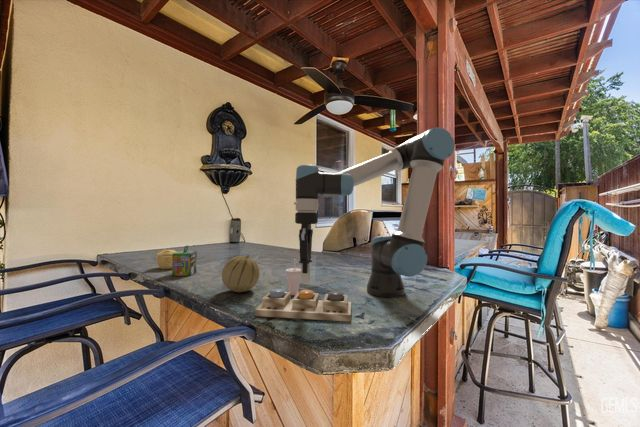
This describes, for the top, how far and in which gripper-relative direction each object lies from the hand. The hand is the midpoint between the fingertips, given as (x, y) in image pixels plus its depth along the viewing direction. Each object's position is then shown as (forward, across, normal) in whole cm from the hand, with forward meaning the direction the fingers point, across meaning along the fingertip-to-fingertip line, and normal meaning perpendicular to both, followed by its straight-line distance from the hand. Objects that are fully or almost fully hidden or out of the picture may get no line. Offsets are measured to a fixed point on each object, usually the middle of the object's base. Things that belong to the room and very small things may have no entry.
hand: (305, 282), depth 90 cm
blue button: (+6, 0, -10) cm, 11 cm away
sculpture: (+10, -53, -89) cm, 104 cm away
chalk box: (+10, -41, -71) cm, 82 cm away
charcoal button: (+6, 0, +10) cm, 12 cm away
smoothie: (+10, -17, -8) cm, 21 cm away
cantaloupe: (+10, -17, -30) cm, 35 cm away
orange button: (+6, 0, 0) cm, 6 cm away
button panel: (+9, +1, 0) cm, 10 cm away
